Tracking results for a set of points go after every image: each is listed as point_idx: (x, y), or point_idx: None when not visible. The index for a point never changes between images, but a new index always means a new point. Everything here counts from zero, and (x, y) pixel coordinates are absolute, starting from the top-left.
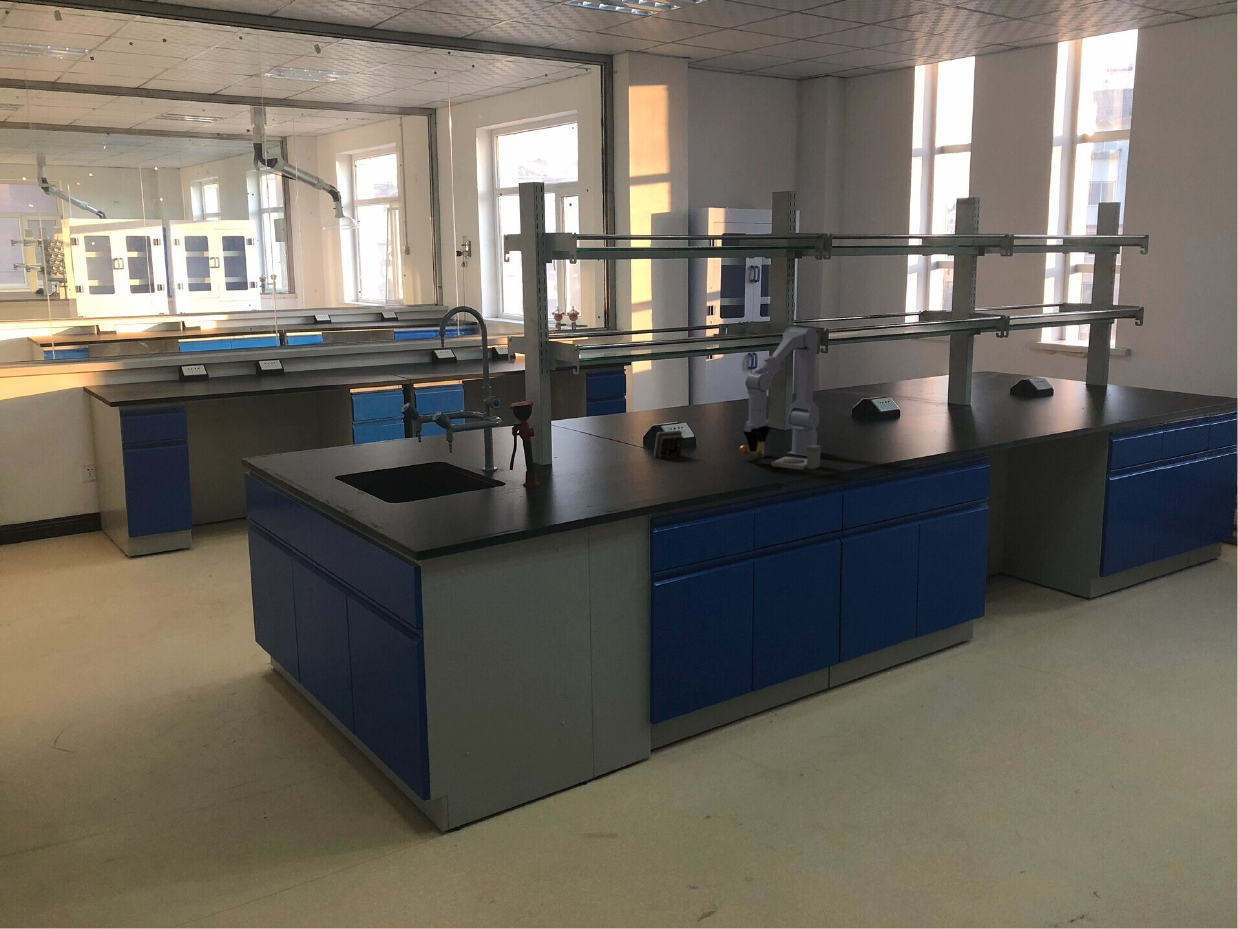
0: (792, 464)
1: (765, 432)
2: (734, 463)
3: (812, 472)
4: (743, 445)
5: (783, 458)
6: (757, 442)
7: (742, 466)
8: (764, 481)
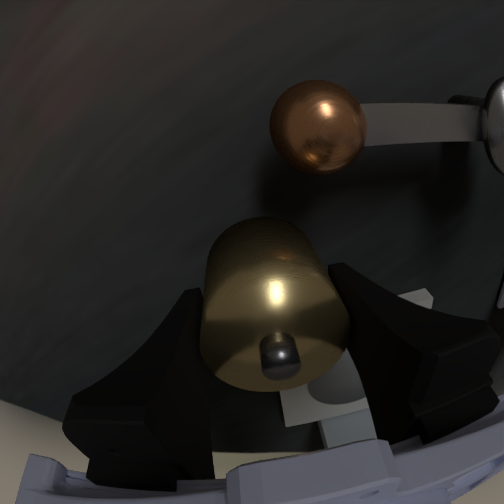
0: (289, 402)
1: (376, 424)
2: (166, 135)
3: (268, 440)
4: (314, 132)
5: None
6: (204, 394)
7: (136, 230)
8: (54, 409)
